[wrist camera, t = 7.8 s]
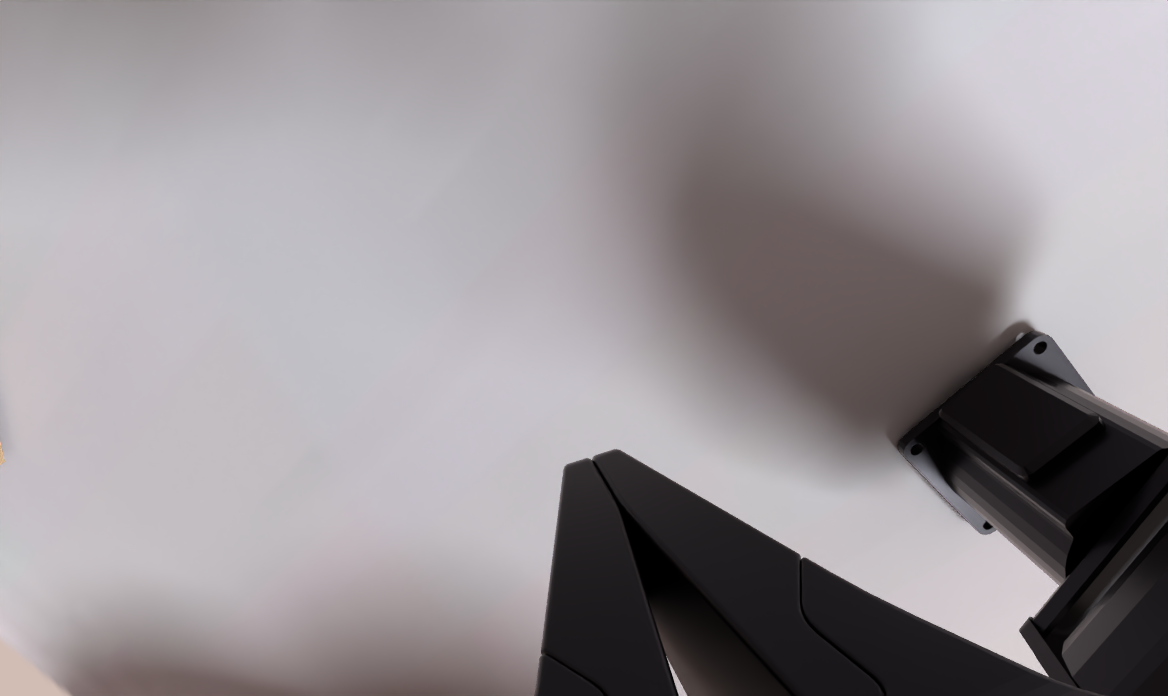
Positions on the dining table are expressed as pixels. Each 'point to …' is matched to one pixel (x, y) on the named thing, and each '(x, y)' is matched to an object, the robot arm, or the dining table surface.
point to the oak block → (1, 455)
